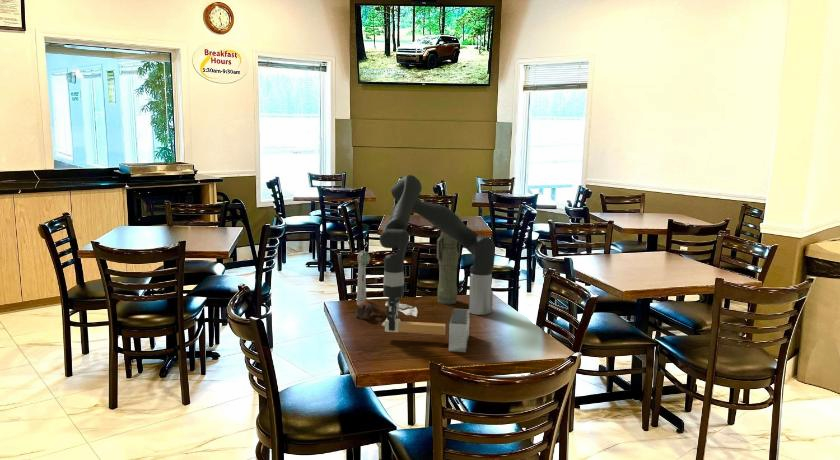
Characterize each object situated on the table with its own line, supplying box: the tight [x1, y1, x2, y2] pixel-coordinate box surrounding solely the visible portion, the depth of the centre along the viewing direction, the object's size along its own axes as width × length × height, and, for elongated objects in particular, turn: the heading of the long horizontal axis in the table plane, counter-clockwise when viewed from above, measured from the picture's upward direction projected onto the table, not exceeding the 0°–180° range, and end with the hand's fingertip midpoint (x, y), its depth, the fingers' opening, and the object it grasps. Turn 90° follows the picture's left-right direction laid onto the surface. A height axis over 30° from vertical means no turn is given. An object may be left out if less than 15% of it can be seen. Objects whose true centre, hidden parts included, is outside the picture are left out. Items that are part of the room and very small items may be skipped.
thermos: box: [436, 230, 461, 305], centre depth 285 cm, size 9×12×35 cm
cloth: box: [384, 300, 418, 317], centre depth 274 cm, size 26×14×2 cm, turn 22°
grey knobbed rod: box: [356, 250, 371, 307], centre depth 276 cm, size 5×7×25 cm
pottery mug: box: [355, 298, 381, 320], centre depth 260 cm, size 12×9×8 cm
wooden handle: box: [381, 318, 446, 336], centre depth 231 cm, size 23×4×4 cm, turn 82°
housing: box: [448, 308, 471, 353], centre depth 229 cm, size 6×20×13 cm, turn 173°
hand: (392, 328), depth 233 cm, fingers closed on wooden handle, 4 cm apart
